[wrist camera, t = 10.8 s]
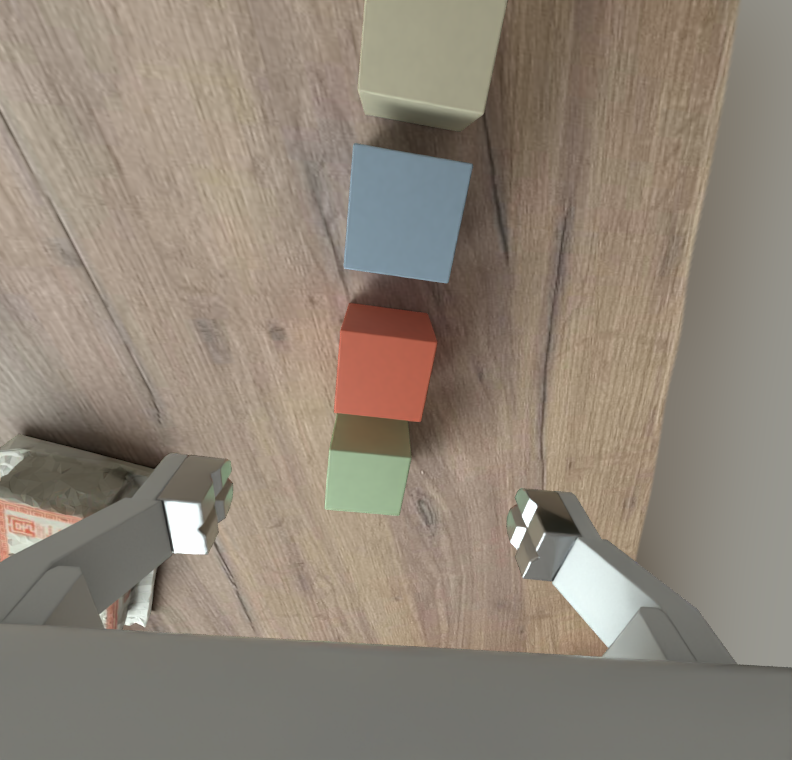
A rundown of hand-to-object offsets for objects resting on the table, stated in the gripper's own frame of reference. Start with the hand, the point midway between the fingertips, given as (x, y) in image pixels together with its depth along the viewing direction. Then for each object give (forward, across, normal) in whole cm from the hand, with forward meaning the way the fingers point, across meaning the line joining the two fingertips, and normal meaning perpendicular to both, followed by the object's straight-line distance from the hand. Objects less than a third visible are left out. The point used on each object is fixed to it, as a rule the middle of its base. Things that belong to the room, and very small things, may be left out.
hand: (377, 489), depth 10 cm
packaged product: (+12, +20, +20) cm, 30 cm away
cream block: (+13, 0, -12) cm, 18 cm away
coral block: (+12, 0, +1) cm, 13 cm away
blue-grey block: (+13, 0, -6) cm, 14 cm away
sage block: (+12, 0, +8) cm, 14 cm away
